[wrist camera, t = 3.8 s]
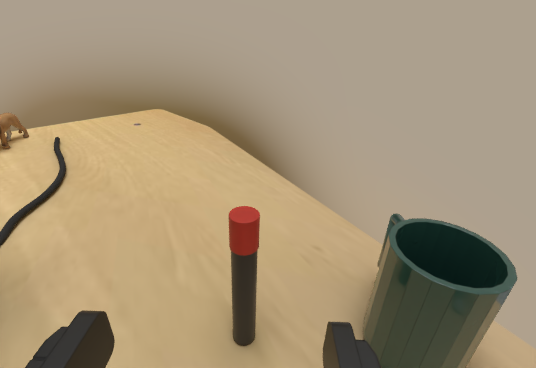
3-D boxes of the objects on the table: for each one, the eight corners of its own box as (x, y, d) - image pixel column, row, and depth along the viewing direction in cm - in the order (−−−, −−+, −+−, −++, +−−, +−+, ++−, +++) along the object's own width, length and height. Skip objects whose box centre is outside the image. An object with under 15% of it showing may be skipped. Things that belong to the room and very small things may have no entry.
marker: (227, 334, 28) (222, 213, 22) (245, 320, 29) (246, 202, 23) (242, 351, 27) (242, 227, 20) (260, 336, 28) (266, 215, 22)
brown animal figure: (8, 154, 64) (-8, 113, 60) (-22, 156, 63) (-41, 114, 59) (33, 134, 77) (20, 99, 73) (8, 135, 75) (-5, 99, 71)
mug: (484, 389, 24) (550, 292, 19) (384, 394, 24) (425, 295, 18) (410, 278, 36) (439, 197, 30) (340, 280, 35) (358, 197, 30)
